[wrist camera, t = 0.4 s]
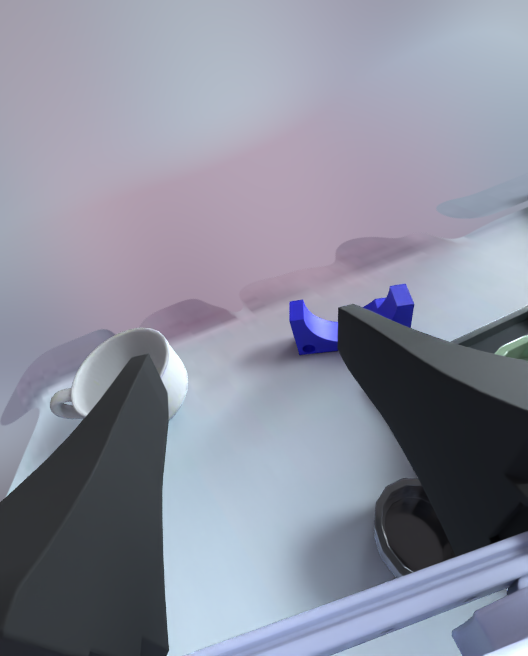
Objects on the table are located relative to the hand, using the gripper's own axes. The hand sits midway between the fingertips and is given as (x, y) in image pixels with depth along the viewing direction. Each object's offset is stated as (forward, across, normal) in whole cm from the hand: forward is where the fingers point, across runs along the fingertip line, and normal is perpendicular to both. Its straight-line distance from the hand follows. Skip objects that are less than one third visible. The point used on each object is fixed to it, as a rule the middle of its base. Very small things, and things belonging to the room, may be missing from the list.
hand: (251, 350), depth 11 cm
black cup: (-2, -9, +19) cm, 21 cm away
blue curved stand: (+17, -13, +15) cm, 26 cm away
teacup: (+18, +13, +19) cm, 29 cm away
